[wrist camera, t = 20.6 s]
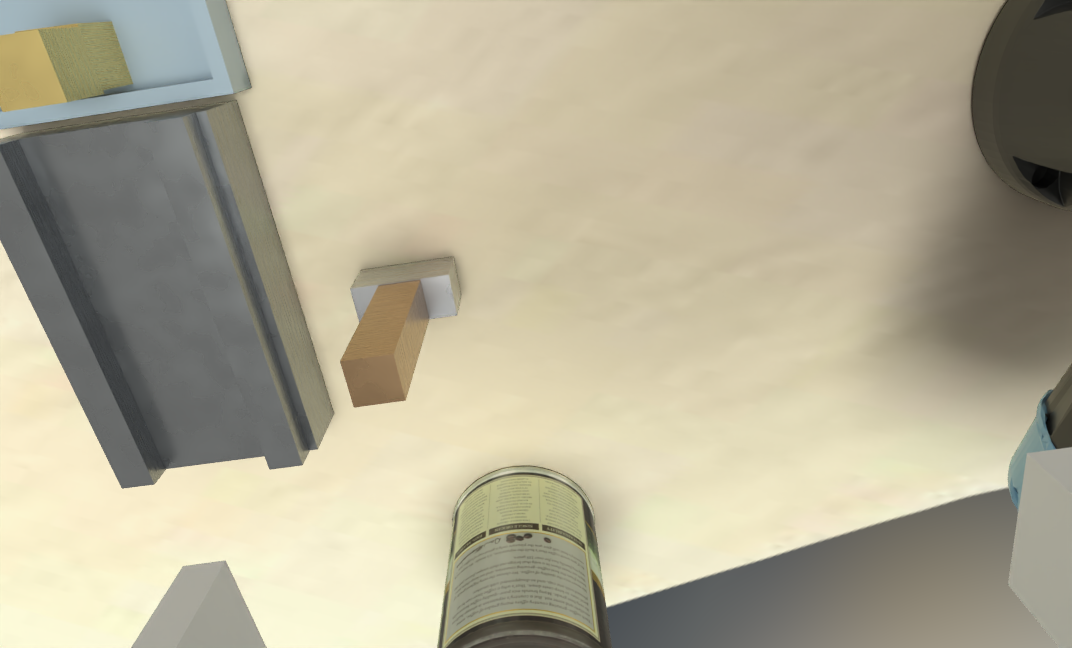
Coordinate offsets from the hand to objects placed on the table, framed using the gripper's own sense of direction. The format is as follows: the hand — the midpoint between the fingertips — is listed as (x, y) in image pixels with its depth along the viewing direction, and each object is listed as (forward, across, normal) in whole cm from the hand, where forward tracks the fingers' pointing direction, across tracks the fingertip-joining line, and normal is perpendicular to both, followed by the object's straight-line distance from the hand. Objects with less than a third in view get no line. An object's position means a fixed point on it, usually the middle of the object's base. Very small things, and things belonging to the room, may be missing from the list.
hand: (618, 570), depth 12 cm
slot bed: (+30, +23, +3) cm, 38 cm away
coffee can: (+31, +7, +24) cm, 40 cm away
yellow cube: (+26, +23, -10) cm, 36 cm away
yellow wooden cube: (+28, +23, -9) cm, 37 cm away
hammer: (+30, +10, +5) cm, 32 cm away
